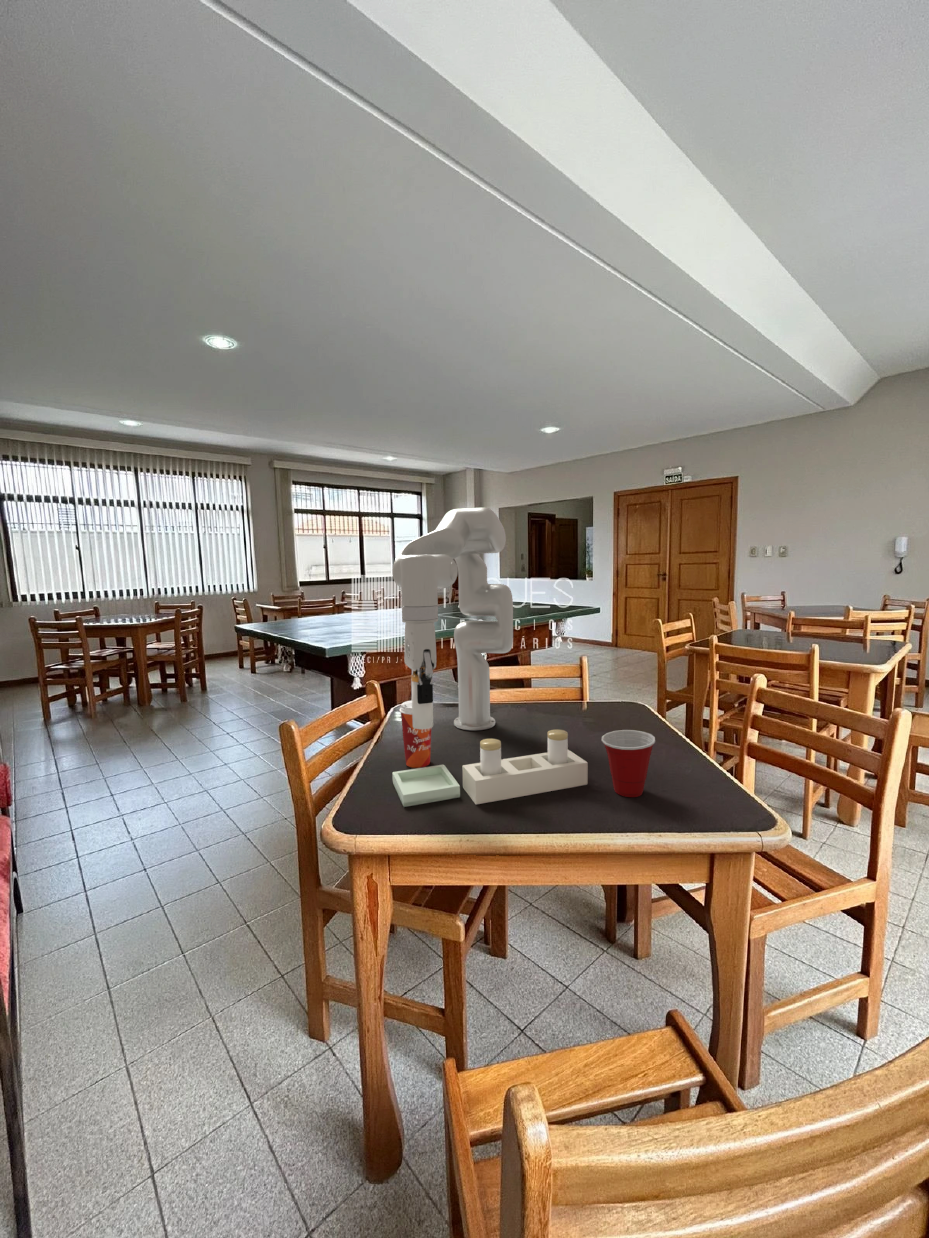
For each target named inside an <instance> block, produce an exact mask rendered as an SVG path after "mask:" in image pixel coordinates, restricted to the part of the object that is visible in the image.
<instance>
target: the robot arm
mask: <svg viewBox="0 0 929 1238" xmlns="http://www.w3.org/2000/svg"><path fill="white" fill-rule="evenodd" d="M506 540H507V536H506V530H505V528H504V525H503V524H502V522H501V519H499V517H498V515H497V514H496V513H495V511H494V510H493V509H491V508H489V507H484V506H482V507H479V506H478V507H460V508H453V509H451V510H449V511H447V512H446V513H445V514H444V516H443V517H442V519H441V520H440V522H439V523H438V525H437V526H436V528H435V529H434V530H433V531H431V532H429V533H426V534H424V535H421V536H419V537H417V538H416V539H413V540H412V541H409V542H408V543H407V544H405V545H404V546H403V547H402V549H401V550H400V551H399V553H398V554H397V556H396V557H395V559H394V562H393V565H392V570H391V571H392V579H393V581H394V583H395V584H396V585H397V586H398V587H400V590H401V591H400V593H401V594H400V595H401V621H402V623H405V624H404V625H405V626H404V653H403V654H404V657H403V658H404V664H405V666H407V668H409V669H410V670H411V675H413V674H418V683H419V685H417V701H418V703H419V704H425V703H432V702H433V703H434V687H433V686H434V684H433V683H434V680H433V674H434V670H435V669H436V668H437V644H436V643H437V640H436V630H435V629H436V628H435V626H436V625H435V623H436V622H438V621H439V603H438V602H439V598H438V596H439V595H438V589H440V590H441V589H447V588H449V587H451V586H452V585H453V584H455V582H456V580H457V577H458V606H459V611H460V613H461V614H462V615H464V616H469V617H495V618H496V620H465V621H460V622H459V623H458V624H457V625H456V626H455V628H454V631H453V639H454V640H453V641H454V645H455V651H456V658H457V659H456V661H457V683H458V685H457V686H458V688H457V690H458V695H457V696H458V716H457V717H456V718H455V719H454V720H453V726H454V727H456V728H457V729H460V730H464V731H483V730H488V729H491V728H493V727H494V726H495V725H496V719H495V718H494V717H492V716H491V687H490V686H491V685H490V684H491V683H490V679H491V678H490V677H491V676H490V665H489V663H488V661H487V659H486V658H485V656H483V655H482V654H506V653H509V652H510V651H511V650H512V648H513V644H514V602H513V593H512V590H511V589H510V587H509V586H508V585H506V584H502V583H489V582H488V568H487V565H486V563H485V561H484V560H483V558H482V557H481V556H480V555H479V554H498V553H501V552H502V551H503V550H504V548H505V546H506V543H507V541H506ZM422 673H425V674H423V675H422Z"/></svg>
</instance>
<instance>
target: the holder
mask: <svg viewBox="0 0 929 1238" xmlns="http://www.w3.org/2000/svg"><path fill="white" fill-rule="evenodd" d="M588 763H589V762H587V761H586V760H585V759H583V758H582V757H580V756H579V755H577V754H575V753H574V752H573V751H571V750H570V749H568V763H564V764H558V765H552V764H550V763H549V762H548V751H547V752H542V753H541V752H540V753H535V754H528V755H521V756H516V757H514V756H513V757H508V758H503V759H502V758H501V774H496V775H490V776H484V777H483V776H482V775H481V766H480V762H475V763H469V764H463V765H462V788H463V789H464V791H465V792H466V793H467V795H468V796H469V798H470V799H471V800H472V802H473V803H474V804H475V805H480V804H486V803H492V802H497V801H503V800H510V799H513V798H520V797H524V796H531V795H536V794H542V793H547V792H551V791H552V792H553V791H558V790H564V789H570V788H576V787H581V786H587V785H588V775H589V774H588V771H589V769H588Z"/></svg>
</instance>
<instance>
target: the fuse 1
mask: <svg viewBox="0 0 929 1238" xmlns="http://www.w3.org/2000/svg"><path fill="white" fill-rule="evenodd" d="M479 750H480V752H479V756H480V757H479V760H480V761H479V763H480V766H481V775H482V776H483V777H484V776H490V775H496V774H501V759H502V741H501V740H500V739H497V738H483V739H482V740H480V741H479Z"/></svg>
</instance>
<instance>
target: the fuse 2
mask: <svg viewBox="0 0 929 1238" xmlns="http://www.w3.org/2000/svg"><path fill="white" fill-rule="evenodd" d="M568 733H569V732H567V731H566V730H564V729H556V728H555V729H551V730H550V729H549V730H548V731H547V752H548V762H549V763H550V764H552V765H558V764H564V763H568V750H569V749H568V747H569V745H568V743H569V742H568V738H569V737H568V736H569V734H568Z"/></svg>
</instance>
